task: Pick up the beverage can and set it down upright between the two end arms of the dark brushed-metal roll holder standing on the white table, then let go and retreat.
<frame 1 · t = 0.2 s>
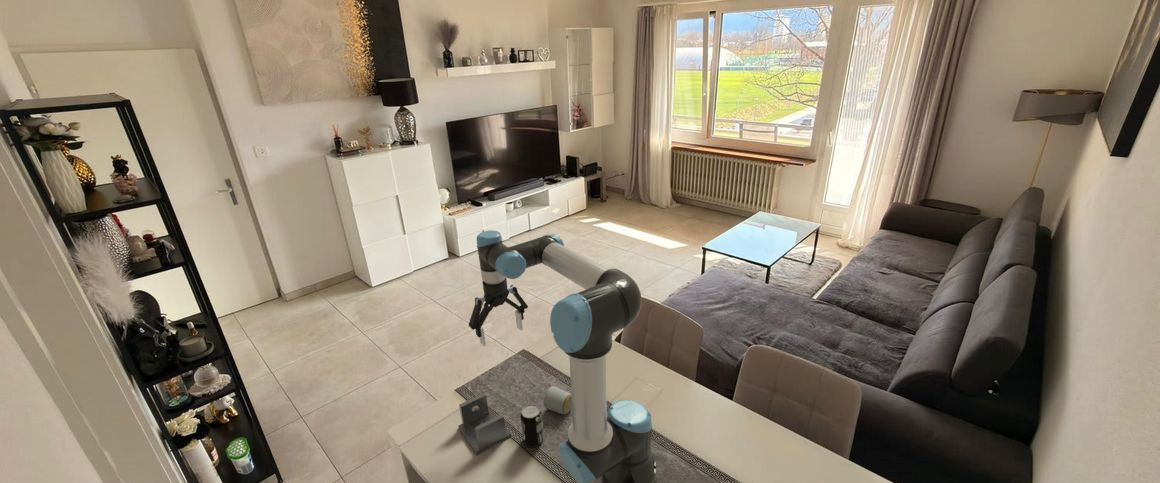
hand: (501, 336, 157), 27 cm above the table, fingers open, 13 cm apart
holder: (484, 432, 156), on the table
ceramic mug: (560, 406, 165), on the table
beverage can: (533, 440, 152), on the table
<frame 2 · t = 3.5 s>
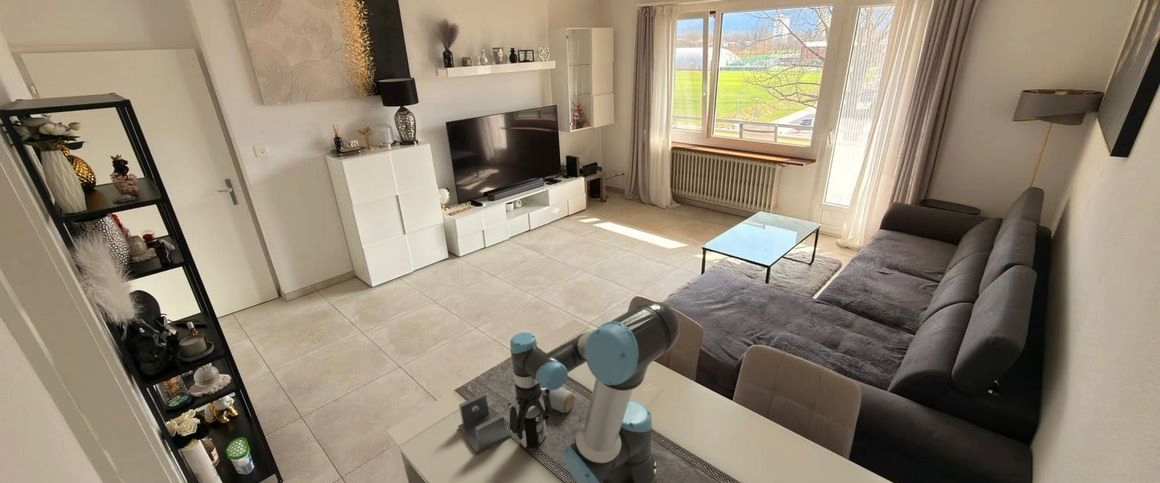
hand: (533, 438, 151), 0 cm above the table, fingers closed on beverage can, 7 cm apart
beverage can: (533, 440, 152), on the table, touching gripper
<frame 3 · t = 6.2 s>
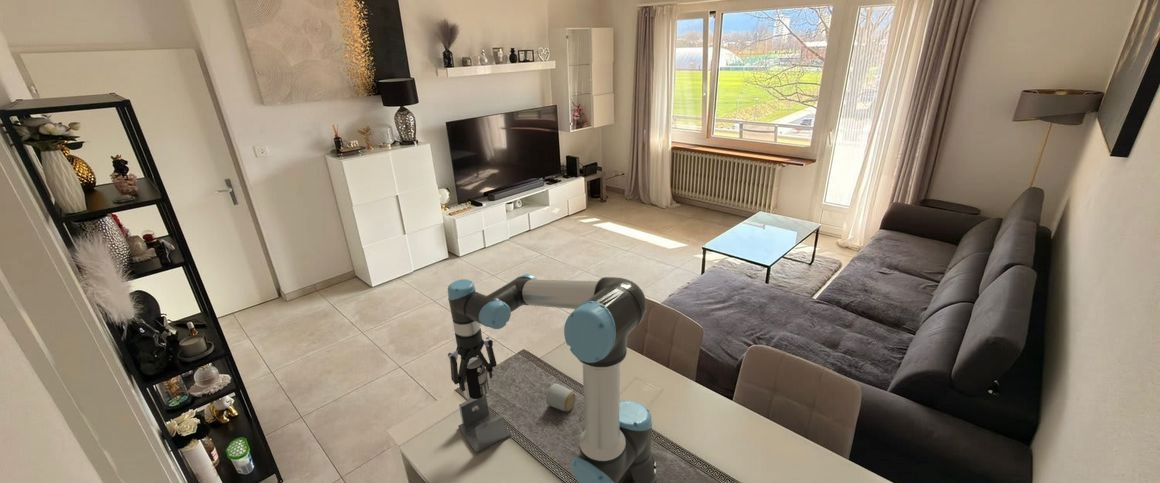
hand: (477, 391, 149), 17 cm above the table, fingers closed on beverage can, 7 cm apart
beverage can: (478, 393, 149), point 16 cm above the table, touching gripper
when the fingers open (3 cm above the table, at t = 8.8 s): beverage can drops 2 cm, resting on holder.
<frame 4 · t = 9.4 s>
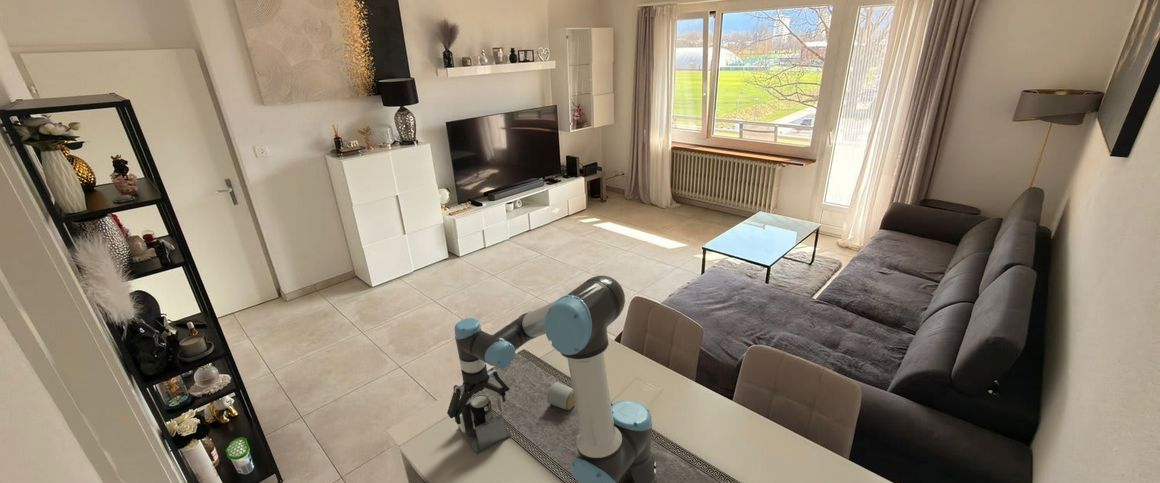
hand: (482, 419, 154), 5 cm above the table, fingers open, 13 cm apart
beverage can: (484, 429, 155), point 1 cm above the table, touching holder
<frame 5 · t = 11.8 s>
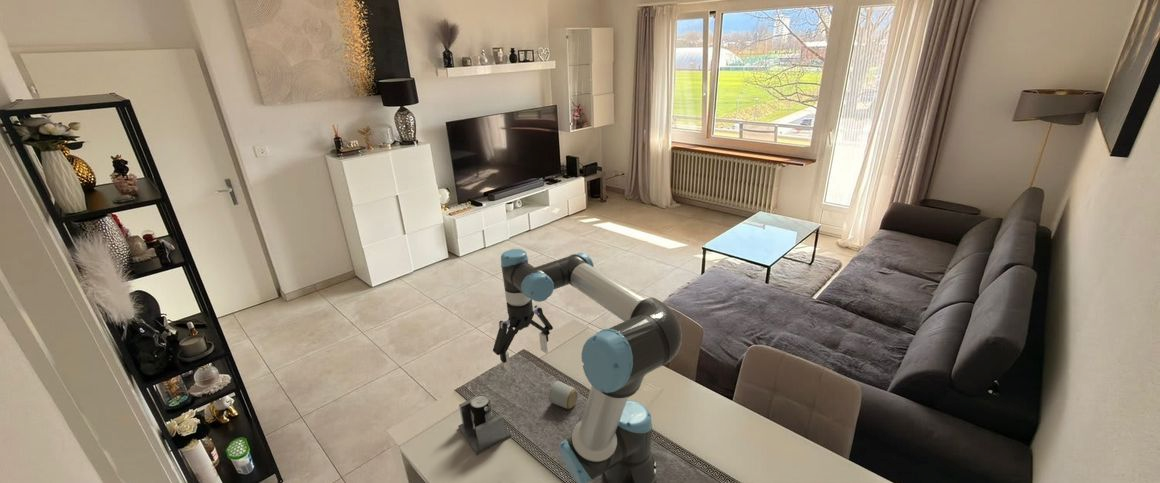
hand: (526, 360, 149), 25 cm above the table, fingers open, 13 cm apart
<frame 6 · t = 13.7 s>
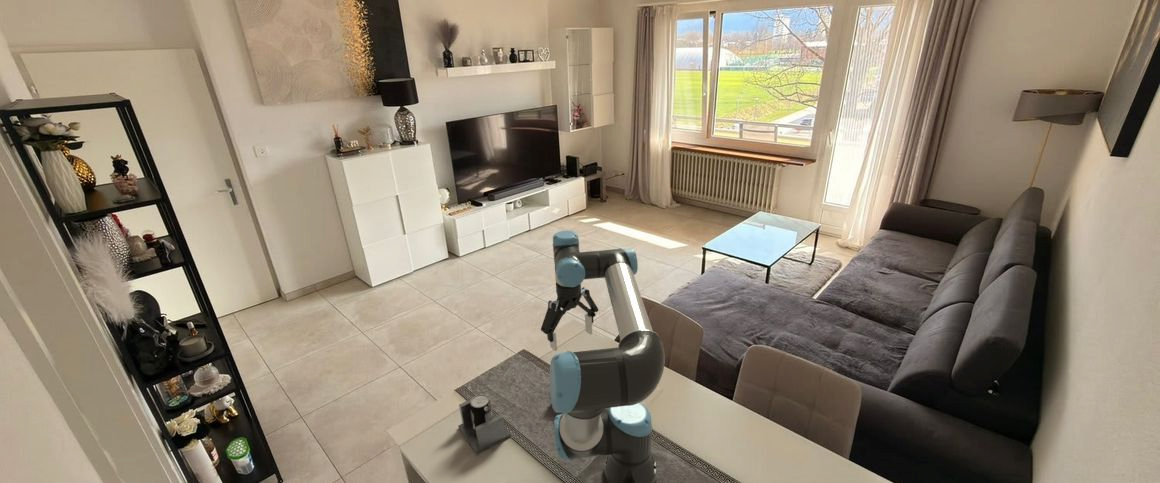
hand: (571, 340, 151), 29 cm above the table, fingers open, 13 cm apart
at the end: beverage can inside the target area on the holder (0.2 cm from its centre), point 0.8 cm above the holder's base; beverage can tilted 0°; the gripper is holding nothing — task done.
